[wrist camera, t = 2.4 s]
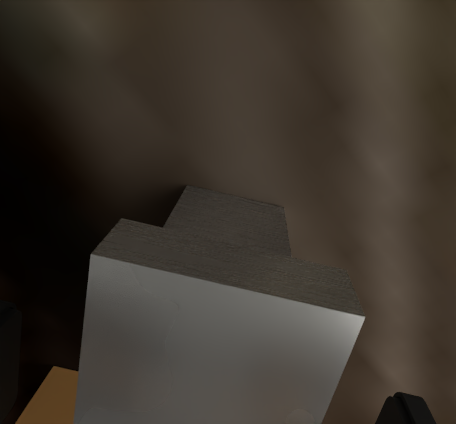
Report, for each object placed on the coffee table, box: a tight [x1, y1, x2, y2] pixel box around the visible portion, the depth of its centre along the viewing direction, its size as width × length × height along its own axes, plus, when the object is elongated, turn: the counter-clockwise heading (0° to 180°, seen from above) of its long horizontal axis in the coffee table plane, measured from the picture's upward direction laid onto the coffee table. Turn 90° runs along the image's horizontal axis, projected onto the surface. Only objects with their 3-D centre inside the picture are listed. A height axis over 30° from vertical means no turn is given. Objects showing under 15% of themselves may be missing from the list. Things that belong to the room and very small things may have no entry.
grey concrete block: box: [73, 185, 365, 424], centre depth 11 cm, size 9×4×9 cm, turn 168°
